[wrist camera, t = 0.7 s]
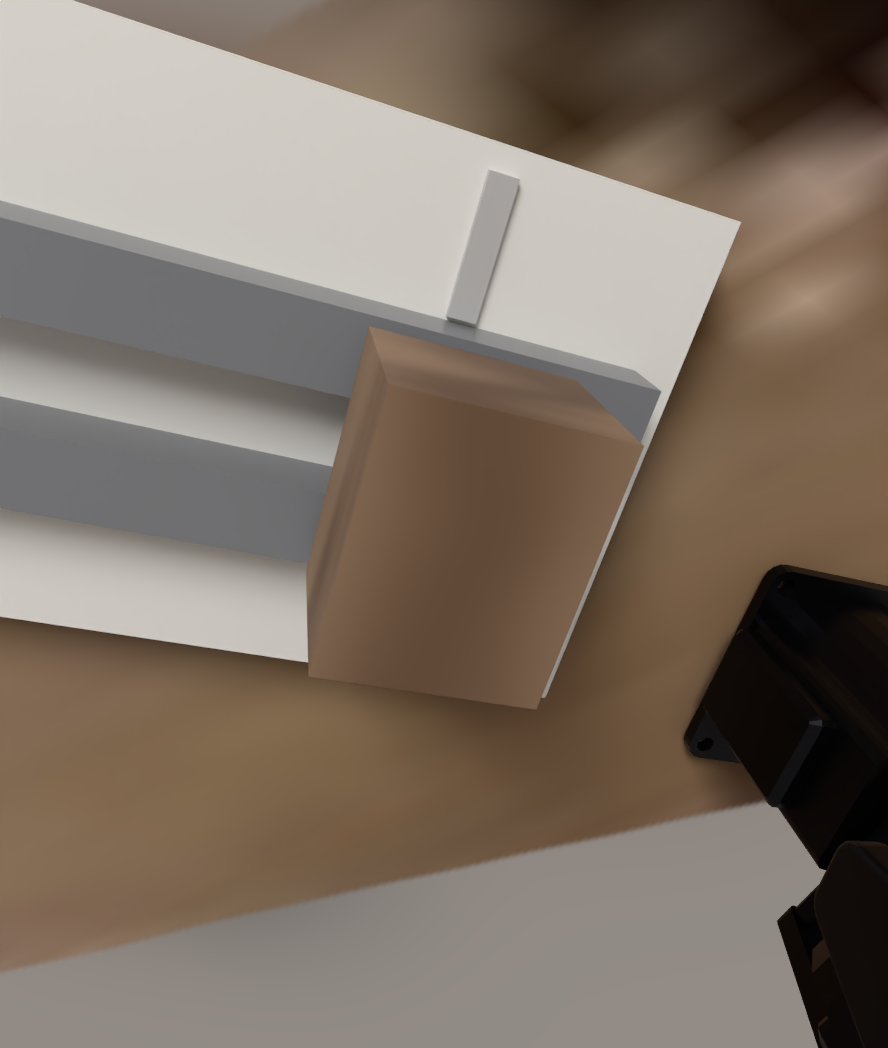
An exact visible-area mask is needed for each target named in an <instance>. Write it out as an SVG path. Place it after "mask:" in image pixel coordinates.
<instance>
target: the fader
mask: <svg viewBox="0 0 888 1048" xmlns="http://www.w3.org/2000/svg"><path fill="white" fill-rule="evenodd" d="M643 448H644V446H643V445H642V444H641V443H640V442H639V441H638V440H637V439H636V438H635V437H634V436H633V435H632V434H631V433H630V432H629V431H628V430H627V429H626V428H625V427H624V426H623V425H622V424H621V423H620V422H619V421H618V420H617V419H616V418H615V417H614V416H613V415H612V414H611V413H610V412H609V411H608V410H607V409H605V408H604V407H603V406H602V405H601V404H600V403H599V402H598V401H597V400H596V399H595V398H594V397H593V396H592V395H591V394H590V393H589V392H588V391H587V390H586V389H585V388H584V387H583V386H582V385H581V384H580V383H579V382H578V381H577V380H575V379H572V378H568V377H564V376H560V375H556V374H552V373H548V372H545V371H541V370H537V369H533V368H529V367H525V366H521V365H518V364H514V363H510V362H506V361H502V360H498V359H494V358H491V357H487V356H483V355H479V354H475V353H471V352H468V351H464V350H460V349H456V348H452V347H448V346H444V345H441V344H437V343H433V342H429V341H425V340H421V339H417V338H414V337H410V336H406V335H402V334H398V333H394V332H390V331H387V330H383V329H379V328H375V327H371V326H369V327H368V331H367V335H366V339H365V343H364V347H363V350H362V354H361V358H360V362H359V366H358V370H357V374H356V378H355V382H354V386H353V389H352V393H351V397H350V401H349V405H348V409H347V413H346V417H345V421H344V424H343V428H342V432H341V436H340V440H339V444H338V448H337V452H336V456H335V460H334V463H333V467H332V471H331V475H330V479H329V483H328V487H327V491H326V495H325V499H324V502H323V506H322V510H321V514H320V518H319V522H318V526H317V530H316V534H315V538H314V541H313V545H312V549H311V553H310V557H309V561H308V565H307V569H306V595H307V638H308V677H314V678H321V679H327V680H334V681H341V682H348V683H355V684H362V685H369V686H376V687H383V688H390V689H396V690H403V691H410V692H417V693H424V694H431V695H438V696H445V697H452V698H459V699H465V700H472V701H479V702H486V703H493V704H500V705H507V706H514V707H521V708H528V709H535V710H536V709H537V707H538V705H539V702H540V700H541V697H542V695H543V692H544V690H545V687H546V685H547V683H548V680H549V678H550V675H551V673H552V670H553V668H554V665H555V663H556V661H557V658H558V656H559V653H560V651H561V648H562V646H563V643H564V641H565V639H566V636H567V634H568V631H569V629H570V626H571V624H572V621H573V619H574V617H575V614H576V612H577V609H578V607H579V604H580V602H581V599H582V597H583V595H584V592H585V590H586V587H587V585H588V582H589V580H590V577H591V575H592V573H593V570H594V568H595V565H596V563H597V560H598V558H599V555H600V553H601V551H602V548H603V546H604V543H605V541H606V538H607V536H608V533H609V531H610V529H611V526H612V524H613V521H614V519H615V516H616V514H617V511H618V509H619V507H620V504H621V502H622V499H623V497H624V494H625V492H626V489H627V487H628V485H629V482H630V480H631V477H632V475H633V472H634V470H635V467H636V465H637V463H638V460H639V458H640V455H641V453H642V450H643Z"/></svg>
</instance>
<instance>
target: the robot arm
mask: <svg viewBox="0 0 888 1048" xmlns="http://www.w3.org/2000/svg"><path fill="white" fill-rule="evenodd" d="M785 580H787V582H786V584H785V585H784V586H782V587H780V588H778V586H779V585H780V583H781V582H783V581H785ZM704 738H706V739H705V740H703V741H701V742H699V741H700V740H702V739H704ZM684 741H685V744H686V746H687V747H688V749H689V751H690V752H691V753H692V754H693V755H694V756H696V757H700V758H708V759H715V760H722V761H730V762H737V763H741V764H742V766H743V767H744V769H745V770H746V772H747V773H748V775H749V776H750V778H751V779H752V781H753V782H754V784H755V785H756V787H757V788H758V790H759V791H760V793H761V794H762V795H763V797H764V798H765V800H766V801H767V803H768V804H769V805H770V806H771V807H777V808H779V810H780V811H781V813H782V814H783V816H784V817H785V819H786V820H787V822H788V823H789V824H790V826H791V827H792V829H793V830H794V832H795V833H796V835H797V836H798V837H799V839H800V840H801V842H802V843H803V845H804V846H805V848H806V849H807V851H808V852H809V854H810V855H811V856H812V858H813V859H814V861H815V862H816V864H817V865H818V867H819V868H821V869H823V870H826V872H825V874H824V876H823V878H822V880H821V882H820V884H819V885H818V886H817V887H816V888H815V889H814V890H813V891H812V892H811V893H810V894H809V895H808V896H807V897H806V898H805V899H804V900H803V901H802V902H801V903H800V904H799V905H798V906H797V907H796V906H791V907H790V908H789V909H788V910H787V911H786V912H785V913H784V914H783V915H782V916H781V917H780V918H779V919H778V921H777V922H778V926H779V929H780V932H781V935H782V938H783V941H784V945H785V947H786V951H787V954H788V957H789V960H790V963H791V966H792V968H793V972H794V975H795V978H796V981H797V984H798V987H799V990H800V993H801V996H802V1000H803V1003H804V1005H805V1009H806V1011H807V1015H808V1018H809V1021H810V1024H811V1027H812V1030H813V1033H814V1036H815V1039H816V1042H817V1045H818V1048H888V586H884V585H880V584H875V583H870V582H865V581H861V580H856V579H851V578H846V577H842V576H837V575H832V574H828V573H823V572H818V571H813V570H809V569H804V568H799V567H794V566H790V565H779V566H776V567H773V568H772V569H771V570H769V571H768V572H767V573H766V575H765V576H764V578H763V580H762V582H761V584H760V586H759V588H758V590H757V591H756V593H755V595H754V597H753V599H752V601H751V603H750V605H749V607H748V609H747V611H746V613H745V615H744V617H743V619H742V621H741V623H740V625H739V627H738V629H737V631H736V633H735V635H734V637H733V639H732V641H731V643H730V645H729V647H728V649H727V651H726V653H725V655H724V657H723V659H722V661H721V663H720V665H719V667H718V669H717V671H716V673H715V675H714V677H713V679H712V681H711V683H710V685H709V687H708V689H707V691H706V693H705V695H704V697H703V699H702V701H701V703H700V705H699V707H698V709H697V711H696V713H695V715H694V717H693V719H692V721H691V723H690V725H689V727H688V729H687V731H686V733H685V736H684Z"/></svg>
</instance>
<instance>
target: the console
mask: <svg viewBox="0 0 888 1048" xmlns="http://www.w3.org/2000/svg"><path fill="white" fill-rule="evenodd" d="M740 223H741V222H739V221H736V220H733V219H730V218H727V217H724V216H721V215H718V214H715V213H712V212H709V211H706V210H703V209H700V208H697V207H694V206H691V205H688V204H685V203H682V202H679V201H676V200H673V199H670V198H667V197H664V196H661V195H658V194H655V193H652V192H649V191H646V190H643V189H640V188H637V187H634V186H631V185H628V184H625V183H621V182H618V181H615V180H612V179H609V178H606V177H603V176H600V175H597V174H594V173H591V172H588V171H585V170H582V169H579V168H576V167H573V166H570V165H567V164H564V163H561V162H558V161H555V160H552V159H549V158H546V157H543V156H540V155H537V154H534V153H531V152H528V151H525V150H522V149H519V148H516V147H513V146H510V145H507V144H504V143H501V142H498V141H495V140H492V139H489V138H486V137H483V136H480V135H477V134H474V133H471V132H468V131H465V130H462V129H459V128H456V127H453V126H450V125H447V124H444V123H441V122H438V121H435V120H432V119H429V118H426V117H423V116H420V115H417V114H414V113H410V112H407V111H404V110H401V109H398V108H395V107H392V106H389V105H386V104H383V103H380V102H377V101H374V100H371V99H368V98H365V97H362V96H359V95H356V94H353V93H350V92H347V91H344V90H341V89H338V88H335V87H332V86H329V85H326V84H323V83H320V82H317V81H314V80H311V79H308V78H305V77H302V76H299V75H296V74H293V73H290V72H287V71H284V70H281V69H278V68H275V67H272V66H269V65H266V64H263V63H260V62H257V61H254V60H251V59H248V58H245V57H242V56H239V55H236V54H233V53H230V52H227V51H224V50H220V49H218V48H214V47H211V46H208V45H205V44H202V43H199V42H196V41H193V40H190V39H187V38H184V37H181V36H178V35H175V34H172V33H169V32H166V31H163V30H160V29H157V28H154V27H151V26H148V25H145V24H142V23H139V22H136V21H133V20H130V19H127V18H124V17H121V16H118V15H115V14H112V13H109V12H106V11H103V10H100V9H97V8H94V7H91V6H88V5H85V4H82V3H79V2H76V1H73V0H0V617H6V618H13V619H20V620H27V621H33V622H40V623H47V624H53V625H60V626H67V627H73V628H80V629H87V630H93V631H100V632H107V633H114V634H120V635H127V636H134V637H140V638H147V639H154V640H160V641H167V642H174V643H181V644H187V645H194V646H201V647H207V648H214V649H221V650H227V651H234V652H241V653H248V654H254V655H261V656H268V657H274V658H281V659H288V660H294V661H301V662H308V638H307V595H306V569H307V565H308V561H309V557H310V553H311V549H312V545H313V541H314V538H315V534H316V530H317V526H318V522H319V518H320V514H321V510H322V506H323V502H324V499H325V495H326V491H327V487H328V483H329V479H330V475H331V471H332V467H333V463H334V460H335V456H336V452H337V448H338V444H339V440H340V436H341V432H342V428H343V424H344V421H345V417H346V413H347V409H348V405H349V401H350V397H351V393H352V389H353V386H354V382H355V378H356V374H357V370H358V366H359V362H360V358H361V354H362V350H363V347H364V343H365V339H366V335H367V331H368V327H369V326H371V327H375V328H379V329H383V330H387V331H390V332H394V333H398V334H402V335H406V336H410V337H414V338H417V339H421V340H425V341H429V342H433V343H437V344H441V345H444V346H448V347H452V348H456V349H460V350H464V351H468V352H471V353H475V354H479V355H483V356H487V357H491V358H494V359H498V360H502V361H506V362H510V363H514V364H518V365H521V366H525V367H529V368H533V369H537V370H541V371H545V372H548V373H552V374H556V375H560V376H564V377H568V378H572V379H575V380H577V381H578V382H579V383H580V384H581V385H582V386H583V387H584V388H585V389H586V390H587V391H588V392H589V393H590V394H591V395H592V396H593V397H594V398H595V399H596V400H597V401H598V402H599V403H600V404H601V405H602V406H603V407H604V408H605V409H607V410H608V411H609V412H610V413H611V414H612V415H613V416H614V417H615V418H616V419H617V420H618V421H619V422H620V423H621V424H622V425H623V426H624V427H625V428H626V429H627V430H628V431H629V432H630V433H631V434H632V435H633V436H634V437H635V438H636V439H637V440H638V441H639V442H640V443H641V444H642V445H643V446H644V448H643V450H642V453H641V455H640V458H639V460H638V463H637V465H636V467H635V470H634V472H633V475H632V477H631V480H630V482H629V485H628V487H627V489H626V492H625V494H624V497H623V499H622V502H621V504H620V507H619V509H618V511H617V514H616V516H615V519H614V521H613V524H612V526H611V529H610V531H609V533H608V536H607V538H606V541H605V543H604V546H603V548H602V551H601V553H600V555H599V558H598V560H597V563H596V565H595V568H594V570H593V573H592V575H591V577H590V580H589V582H588V585H587V587H586V590H585V592H584V595H583V597H582V599H581V602H580V604H579V607H578V609H577V612H576V614H575V617H574V619H573V621H572V624H571V626H570V629H569V631H568V634H567V636H566V639H565V641H564V643H563V646H562V648H561V651H560V653H559V656H558V658H557V661H556V663H555V665H554V668H553V670H552V673H551V675H550V678H549V680H548V683H547V685H546V687H545V690H544V692H543V695H542V698H545V697H546V695H547V692H548V690H549V688H550V685H551V683H552V680H553V678H554V675H555V673H556V671H557V668H558V666H559V663H560V661H561V658H562V656H563V653H564V651H565V649H566V646H567V644H568V641H569V639H570V636H571V634H572V632H573V629H574V627H575V624H576V622H577V619H578V617H579V615H580V612H581V610H582V607H583V605H584V602H585V600H586V598H587V595H588V593H589V590H590V588H591V585H592V583H593V581H594V578H595V576H596V573H597V571H598V568H599V566H600V564H601V561H602V559H603V556H604V554H605V551H606V549H607V547H608V544H609V542H610V539H611V537H612V534H613V532H614V530H615V527H616V525H617V522H618V520H619V517H620V515H621V513H622V510H623V508H624V505H625V503H626V500H627V498H628V496H629V493H630V491H631V488H632V486H633V483H634V481H635V479H636V476H637V474H638V471H639V469H640V466H641V464H642V462H643V459H644V457H645V454H646V452H647V449H648V447H649V445H650V442H651V440H652V437H653V435H654V432H655V430H656V428H657V425H658V423H659V420H660V418H661V415H662V413H663V411H664V408H665V406H666V403H667V401H668V398H669V396H670V393H671V391H672V389H673V386H674V384H675V381H676V379H677V376H678V374H679V372H680V369H681V367H682V364H683V362H684V359H685V357H686V355H687V352H688V350H689V347H690V345H691V342H692V340H693V338H694V335H695V333H696V330H697V328H698V325H699V323H700V321H701V318H702V316H703V313H704V311H705V308H706V306H707V304H708V301H709V299H710V296H711V294H712V291H713V289H714V287H715V284H716V282H717V279H718V277H719V274H720V272H721V270H722V267H723V265H724V262H725V260H726V257H727V255H728V253H729V250H730V248H731V245H732V243H733V240H734V238H735V236H736V233H737V231H738V228H739V226H740Z"/></svg>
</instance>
